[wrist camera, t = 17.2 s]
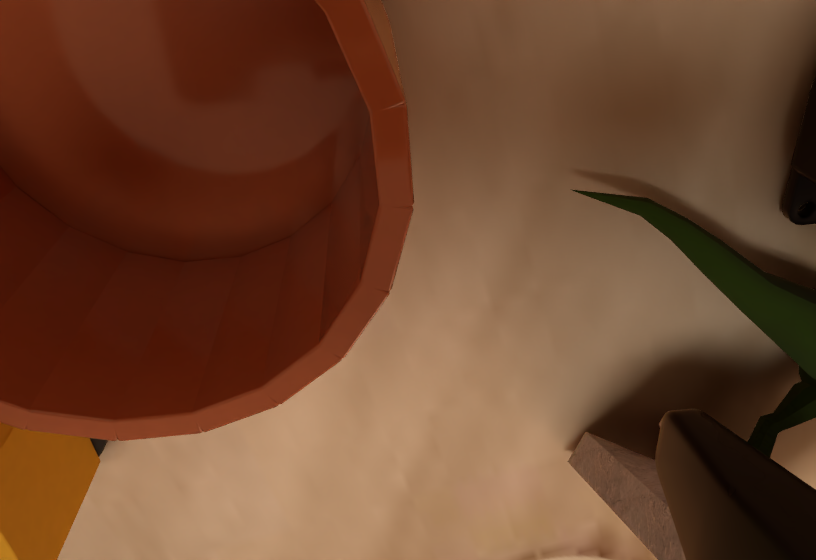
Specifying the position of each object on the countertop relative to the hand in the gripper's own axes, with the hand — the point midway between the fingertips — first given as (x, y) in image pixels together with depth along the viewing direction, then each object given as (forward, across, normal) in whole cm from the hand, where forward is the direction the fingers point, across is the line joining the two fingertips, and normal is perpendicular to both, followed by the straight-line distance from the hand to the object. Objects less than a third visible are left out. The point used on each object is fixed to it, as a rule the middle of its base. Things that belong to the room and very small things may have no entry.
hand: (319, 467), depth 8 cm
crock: (+11, +4, -2) cm, 12 cm away
